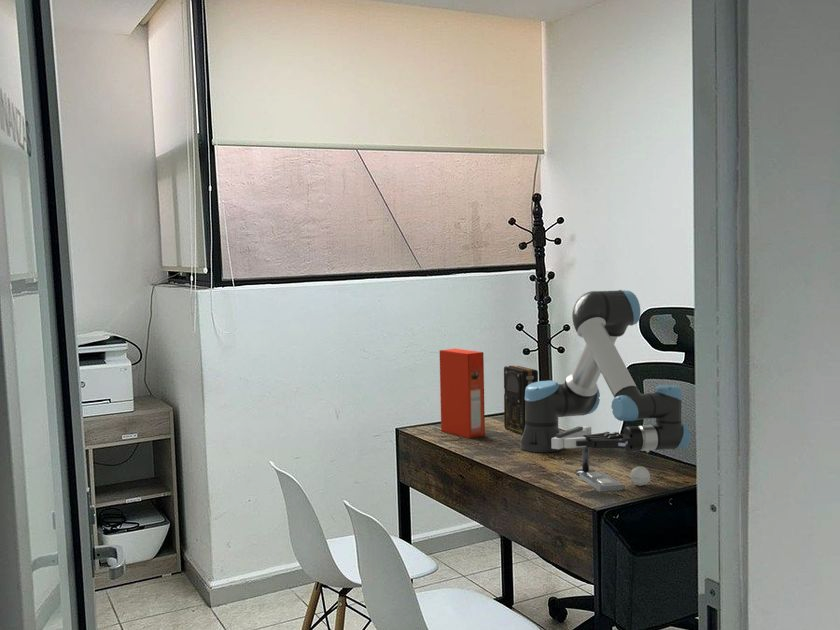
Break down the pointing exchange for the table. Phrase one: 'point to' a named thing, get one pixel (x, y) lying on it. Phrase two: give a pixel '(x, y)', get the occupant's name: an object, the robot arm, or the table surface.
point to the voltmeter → (516, 396)
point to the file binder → (462, 392)
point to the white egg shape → (640, 476)
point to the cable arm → (569, 436)
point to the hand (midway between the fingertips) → (564, 443)
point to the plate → (600, 481)
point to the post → (584, 462)
